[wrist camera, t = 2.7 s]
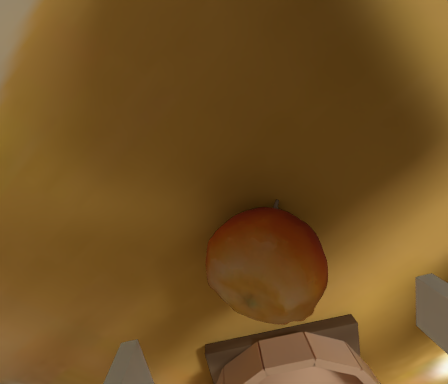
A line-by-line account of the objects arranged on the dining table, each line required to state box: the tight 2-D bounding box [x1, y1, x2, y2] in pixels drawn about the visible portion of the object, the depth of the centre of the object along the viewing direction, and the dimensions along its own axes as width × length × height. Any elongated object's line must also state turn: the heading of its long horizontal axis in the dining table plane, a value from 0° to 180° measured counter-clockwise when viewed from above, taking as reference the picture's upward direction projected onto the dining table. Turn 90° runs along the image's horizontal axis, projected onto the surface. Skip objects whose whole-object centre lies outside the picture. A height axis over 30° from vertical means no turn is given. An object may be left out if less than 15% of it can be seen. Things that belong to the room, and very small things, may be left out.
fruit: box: [206, 200, 328, 324], centre depth 16 cm, size 8×8×8 cm
